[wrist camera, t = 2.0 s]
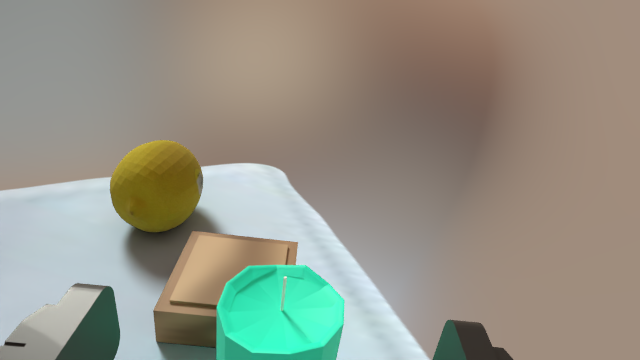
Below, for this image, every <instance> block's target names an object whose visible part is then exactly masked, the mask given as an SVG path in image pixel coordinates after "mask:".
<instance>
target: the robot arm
mask: <svg viewBox="0 0 640 360" xmlns="http://www.w3.org/2000/svg"><path fill="white" fill-rule="evenodd" d="M119 341H120V328H119V322H118V316H117V309H116V303H115V297H114V292H113V289H112V288H111V287H110V286H100V285H90V284H79V283H77V284H74V285H73V286H72V287H71V288H70V289H69V290H68V291H67V293H66V294H65V295H64V296H63V298H62V299H61V300H60V302H59V303H58V304H57V305H50V304H46V305H45V306H43V307H42V308H40V309H39V310H37V311H36V312H34V313H33V314H32V315H30V316H29V317H27V318H26V319H24V320H23V321H22V322H21V323H20V324H19V325H18V327H17V328H16V329H15V330H14V331H13V333H12V334H11V335H10V336H9V337H8V338H7V340H6V341H5V344H4V346H1V347H0V360H114V358H115V355H116V353H117V350H118V346H119ZM433 360H513V359H512V358H511V357H510V355H509V354H508V353H507V352H506V351H505V350H504V349H503V348H498V347H492V345H491V342H490V340H489V338H488V335H487V333H486V331H485V329H484V327H483V325H482V324H481V323H477V322H466V321H455V320H448V321H447V322H446V323H445V326H444V329H443V331H442V334H441V337H440V340H439V343H438V346H437V349H436V352H435V355H434V357H433Z"/></svg>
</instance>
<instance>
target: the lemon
mask: <svg viewBox="0 0 640 360" xmlns="http://www.w3.org/2000/svg"><path fill="white" fill-rule="evenodd" d="M202 188H203V175H202V171H201V167H200V165H199V163H198V161H197V160H196V158H195V157H194V155H193V154H192V153H191V152H190V150H188V149H187V148H185V147H184V146H182V145H181V144H179V143H177V142H173V141H167V140H160V141H153V142H149V143H146V144H143V145H140V146H138V147H136V148H135V149H134V150H132V151H131V152H129V153H128V154H127V155H126V156H125V157H124V158H123V159H122V161H121V162H120V163H119V165H118V166H117V168H116V169H115V171H114V173H113V175H112V178H111V181H110V193H111V198H112V203H113V206H114V208H115V210H116V212H117V213H118V214H119V216H120V217H121V218H122V219H123V220H124V221H126V222H127V223H129V224H130V225H132V226H134V227H136V228H138V229H140V230H143V231H147V232H162V231H167V230H170V229H172V228H174V227H176V226H178V225H180V224H182V223H183V222H184V221H185V220H186V219H187V218H188V217H189V216H190V215H191V214H192V212H193V211H194V209H195V207H196V206H197V204H198V202H199V199H200V196H201V192H202Z"/></svg>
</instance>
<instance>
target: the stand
mask: <svg viewBox="0 0 640 360" xmlns="http://www.w3.org/2000/svg"><path fill="white" fill-rule="evenodd" d="M297 246H298V242H290V241H281V240H272V239H263V238H253V237H244V236H235V235H226V234H217V233H208V232H198V231H192V233H191V235H190V237H189V239H188V241H187V243H186V245H185V247H184V249H183V251H182V253H181V255H180V257H179V259H178V261H177V263H176V265H175V267H174V269H173V271H172V273H171V276H170V278H169V280H168V282H167V284H166V286H165V288H164V290H163V292H162V294H161V296H160V298H159V300H158V302H157V304H156V306H155V308H154V310H153V312H154V322H155V333H156V342H164V343H175V344H185V345H195V346H205V347H216V332H217V305H218V302H219V300H220V297H221V295H222V292H223V290H224V287H225V285H226V283H227V282H228V281H230V280H231V279H232V278H233V277H235V276H236V275H237V274H239V273H240V272H241V271H242V270H244V269H245V268H246V267H248V266H256V265H295V264H296V255H297Z"/></svg>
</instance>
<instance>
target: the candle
mask: <svg viewBox="0 0 640 360" xmlns="http://www.w3.org/2000/svg"><path fill="white" fill-rule="evenodd" d="M343 323H344V299H343V298H342V297H341V296H340V295H339V294H338V293H337V292H336V291H335V290H334V289H333V287H332V286H331V285H330V284H329V283H327V282H326V281H325V280H324V279H322V278H321V277H320V276H319V275H317V274H316V273H315V272H314V271H312V270H311V269H310V268H309V267H307V266H306V265H256V266H248V267H246V268H245V269H244V270H242V271H241V272H240V273H239V274H237V275H236V276H235V277H233V278H232V279H231V280H230V281H228V282H227V283H226V285H225V287H224V290H223V292H222V295H221V297H220V300H219V302H218V305H217V332H216V360H336V357H337V352H338V347H339V343H340V338H341V333H342V328H343Z"/></svg>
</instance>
